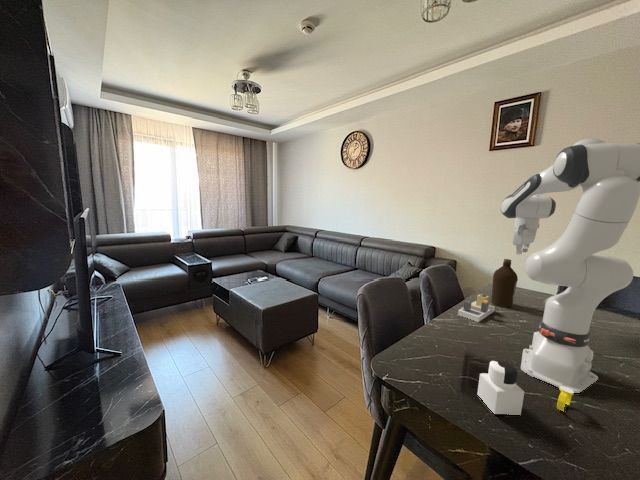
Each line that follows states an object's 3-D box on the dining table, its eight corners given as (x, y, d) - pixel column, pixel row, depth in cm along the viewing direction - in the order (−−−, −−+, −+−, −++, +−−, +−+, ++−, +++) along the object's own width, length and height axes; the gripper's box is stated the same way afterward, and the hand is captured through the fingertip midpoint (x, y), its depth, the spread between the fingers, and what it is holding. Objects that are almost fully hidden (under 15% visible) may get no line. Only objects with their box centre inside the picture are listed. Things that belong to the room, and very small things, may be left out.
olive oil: (492, 306, 135) (498, 260, 131) (487, 299, 145) (493, 256, 141) (516, 309, 131) (523, 262, 127) (510, 302, 140) (516, 258, 137)
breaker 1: (467, 310, 121) (468, 302, 120) (463, 309, 123) (464, 301, 122) (470, 309, 123) (471, 301, 122) (466, 307, 125) (467, 300, 124)
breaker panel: (478, 322, 116) (478, 316, 116) (457, 315, 123) (458, 309, 123) (494, 311, 128) (494, 306, 128) (474, 305, 135) (475, 300, 135)
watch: (559, 402, 70) (563, 382, 70) (572, 409, 68) (577, 388, 67) (551, 409, 67) (556, 389, 66) (565, 417, 65) (570, 396, 64)
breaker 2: (485, 312, 120) (486, 302, 119) (480, 310, 122) (482, 301, 121) (487, 310, 122) (489, 301, 121) (483, 309, 124) (484, 299, 123)
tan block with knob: (484, 307, 126) (486, 296, 125) (475, 304, 129) (477, 294, 128) (487, 305, 129) (489, 295, 128) (479, 303, 132) (480, 292, 131)
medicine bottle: (500, 395, 72) (506, 356, 70) (521, 416, 65) (528, 374, 63) (476, 395, 72) (481, 356, 70) (494, 416, 65) (500, 374, 63)
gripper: (528, 225, 110) (523, 257, 112) (540, 224, 122) (535, 252, 124) (510, 224, 115) (506, 254, 117) (524, 223, 127) (520, 249, 129)
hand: (521, 253), depth 121 cm, fingers open, 8 cm apart
